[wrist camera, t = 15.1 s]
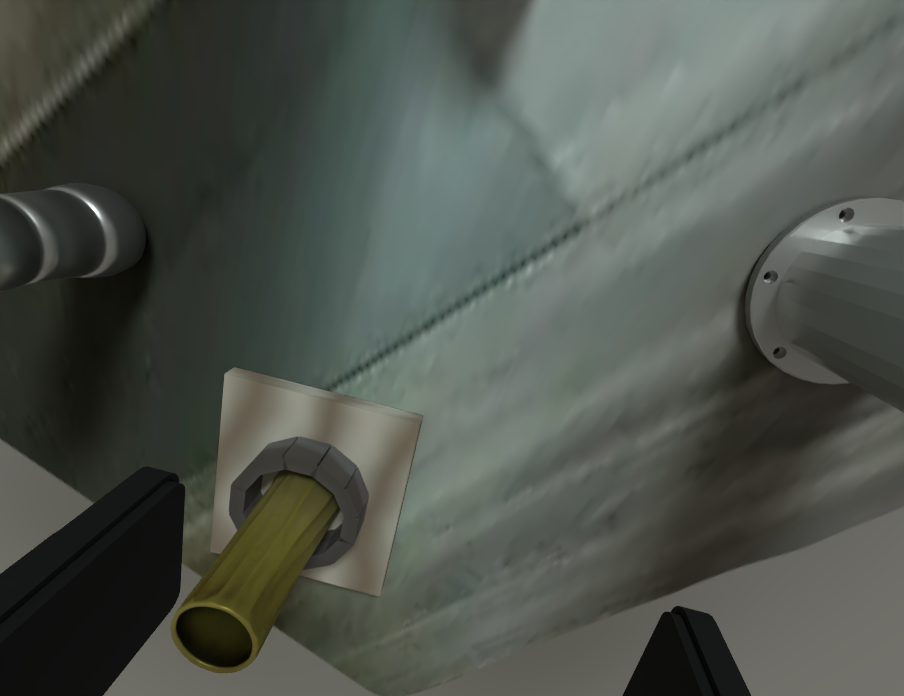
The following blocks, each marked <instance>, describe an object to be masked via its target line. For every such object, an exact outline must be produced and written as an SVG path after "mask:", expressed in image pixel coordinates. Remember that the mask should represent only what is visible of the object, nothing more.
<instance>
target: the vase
mask: <svg viewBox="0 0 904 696" xmlns="http://www.w3.org/2000/svg"><path fill="white" fill-rule="evenodd" d="M339 511H340V507H339V505H338V503H337V500H336V498H335V496H334V494H333V493H332V492H331V491H329V490H328V489H327V488H326V487H325V486H323V485H322V484H321V483H320V482H319V481H317V480H316V479H315V478H314V477H313V476H309V475H305V474H301V473H297V472H293V471H290V470H286V469H285V470H281V471H279V472H278V473H277V475H276V476H275V478H274V480H273V482H272V484H271V486H270V487H269V489H268V490H267V491H266V492H265V493H264V495H263V496H262V497H261V499H260V500H259V501H258V503H257V504H256V505H255V507H254V508H253V510H252V511H251V512H250V514H249V515H248V517H247V518H246V519H245V521H244V522H243V524H242V525H241V526H240V528H239V529H238V530H237V532H236V533H235V534H234V536H233V537H232V539H231V540H230V541H229V543H228V544H227V546H226V547H225V548H224V550H223V551H222V552H221V554H220V555H219V557H218V558H217V559H216V561H215V562H214V563H213V565H212V566H211V567H210V569H209V570H208V571H207V572H206V574H205V575H204V576H203V578H202V579H201V580H200V582H199V583H198V584H197V585H196V587H195V588H194V589H193V591H192V592H191V593H190V594H189V595H188V597H187V598H186V599H185V601H184V602H183V603H182V605H181V606H180V608H179V609H178V610H177V612H176V614H175V615H174V618H173V620H172V623H171V635H172V638H173V641H174V643H175V645H176V646H177V648H178V649H179V651H180V652H181V653H182V654H183V655H184V656H185V657H186V658H187V659H188V660H189V661H190V662H192V663H193V664H195V665H197V666H199V667H201V668H204V669H206V670H209V671H212V672H216V673H233V672H237V671H240V670H242V669H243V668H245V667H247V666H248V665H249V664H251V663H252V662H253V661H254V660H255V658H256V657H257V655H258V653H259V651H260V649H261V648H262V646H263V644H264V642H265V640H266V638H267V636H268V634H269V632H270V630H271V628H272V626H273V624H274V622H275V621H276V619H277V617H278V615H279V613H280V611H281V610H282V608H283V606H284V604H285V602H286V600H287V598H288V596H289V594H290V593H291V591H292V589H293V587H294V585H295V583H296V581H297V579H298V577H299V575H300V573H301V571H302V570H303V568H304V567H305V565H306V563H307V562H308V560H309V559H310V557H311V555H312V554H313V552H314V551H315V549H316V548H317V546H318V544H319V543H320V541H321V540H322V538H323V536H324V535H325V533H326V531H327V530H328V528H329V527H330V525H331V523H332V522H333V520H334V518H335V517H336V516H337V515H338V513H339Z"/></svg>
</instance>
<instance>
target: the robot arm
mask: <svg viewBox="0 0 904 696" xmlns="http://www.w3.org/2000/svg"><path fill="white" fill-rule="evenodd" d="M840 212H841V215H840V217H839V214H840ZM766 273H768V274H767V277H766V278H764V275H765V274H766ZM745 317H746V324H747V328H748V331H749V333H750V336H751V339H752V341H753V343H754V344H755V346H756V347H757V349H758V350H759V352H760V353H761V354H762V355H763V356H764V357H765V358H766V359H767V360H768V361H769V362H770V363H771V364H773V365H774V366H776V367H777V368H779V369H780V370H782V371H783V372H785V373H787V374H789V375H791V376H793V377H796V378H798V379H800V380H804V381H808V382H812V383H816V384H830V385H837V384H848V383H852V384H854V385H855V386H857V387H859V388H861V389H863V390H864V391H866V392H868V393H870V394H872V395H873V396H875V397H877V398H879V399H880V400H882V401H884V402H886V403H888V404H889V405H891V406H893V407H895V408H897V409H898V410H900V411H902V412H904V201H901V200H894V199H886V198H856V199H849V200H842V201H839V202H836V203H833V204H829V205H826V206H823V207H821V208H819V209H817V210H815V211H813V212H811V213H809V214H807V215H805V216H803V217H801V218H800V219H798V220H797V221H796V222H794V223H793V224H792V225H790V226H789V227H787V228H786V229H785V230H784V231H783V232H782V233H781V234H780V235H779V236H778V237H777V238H776V239H775V240H774V241H773V242H772V243H771V244H770V245H769V246H768V248H767V249H766V251H765V252H764V253H763V255H762V256H761V257H760V259H759V261H758V263H757V265H756V267H755V269H754V271H753V273H752V275H751V277H750V281H749V284H748V288H747V291H746V298H745ZM775 349H776V350H775ZM774 350H775V351H774ZM773 351H774V352H773ZM184 502H185V487H184V485H183V484H181V483H179V478H178V476H177V475H176V474H174V473H170V472H167V471H163V470H159V469H155V468H151V467H148V466H147V467H143V468H141V469H139V470H138V471H136V472H135V473H134V474H132V475H131V476H130V477H128V478H127V479H126V480H125V481H123V482H122V483H121V484H119V485H118V486H117V487H115V488H114V489H113V490H111V491H110V492H109V493H108V494H106V495H105V496H104V497H102V498H101V499H100V500H98V501H97V502H96V503H94V504H93V505H92V506H90V507H89V508H88V509H87V510H85V511H84V512H83V513H82V514H80V515H79V516H77V517H76V518H75V519H73V520H72V521H71V522H69V523H68V524H67V525H66V526H64V527H63V528H62V529H60V530H59V531H57V532H56V533H54V534H52V535H51V536H50V537H48V538H47V539H46V540H44V541H43V542H42V543H41V544H39V545H38V546H37V547H36V548H34V549H33V550H31V551H30V552H29V553H27V554H26V555H25V556H24V557H22V558H21V559H20V560H18V561H17V562H16V563H14V564H13V565H12V566H10V567H9V568H8V569H6V570H5V571H4V572H2V573H1V574H0V696H103V695H104V693H105V692H106V691H107V690H108V688H109V687H110V686H111V685H112V683H113V682H114V681H115V680H116V678H117V677H118V676H119V675H120V673H121V672H122V671H123V670H124V668H125V667H126V666H127V665H128V663H129V662H130V661H131V660H132V658H133V657H134V656H135V655H136V653H137V652H138V651H139V650H140V648H141V647H142V646H143V645H144V643H145V642H146V641H147V639H148V638H149V637H150V636H151V634H152V633H153V632H154V631H155V630H156V628H157V627H158V626H159V624H160V623H161V622H162V621H163V620H164V618H165V617H166V616H167V615H168V613H169V612H170V611H171V609H172V608H173V606H174V604H175V603H176V600H177V598H178V596H179V593H180V583H181V564H182V543H183V522H184ZM623 696H751V694H750V692H749V690H748V688H747V686H746V684H745V682H744V680H743V678H742V676H741V674H740V672H739V670H738V667H737V665H736V663H735V661H734V659H733V657H732V655H731V653H730V651H729V649H728V647H727V644H726V642H725V640H724V638H723V637H722V634H721V632H720V630H719V628H718V626H717V624H716V622H715V620H714V619H713V617H712V616H711V615H709V614H707V613H703V612H700V611H695V610H692V609H688V608H684V607H680V606H676V607H674V608H673V609H672V611H671V612H664V613H663V614H662V616H661V618H660V620H659V622H658V624H657V626H656V628H655V630H654V632H653V634H652V636H651V638H650V640H649V642H648V644H647V646H646V648H645V651H644V653H643V655H642V657H641V659H640V661H639V663H638V665H637V667H636V669H635V671H634V673H633V675H632V677H631V679H630V681H629V683H628V685H627V688H626V690H625V692H624V694H623Z"/></svg>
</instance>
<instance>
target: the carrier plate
mask: <svg viewBox="0 0 904 696" xmlns="http://www.w3.org/2000/svg"><path fill="white" fill-rule="evenodd" d="M422 419H423V416H422V415H419V414H415V413H411V412H407V411H403V410H399V409H395V408H391V407H387V406H383V405H380V404H376V403H372V402H368V401H364V400H360V399H356V398H352V397H348V396H345V395H341V394H337V393H333V392H329V391H325V390H321V389H317V388H313V387H309V386H306V385H302V384H298V383H294V382H290V381H286V380H282V379H278V378H274V377H271V376H267V375H263V374H259V373H255V372H251V371H247V370H243V369H239V368H236V367H234V368H233V369H231V370H230V371H228V372H227V373H225V375H224V388H223V400H222V413H221V425H220V438H219V450H218V463H217V475H216V488H215V500H214V512H213V525H212V537H211V550H210V552H213V553H217V554H221V552H222V551H223V550H224V548H225V547H226V546H227V544H228V543H229V541H230V540H231V539H232V537H233V536H234V534H235V533H236V532H237V530H238V529H239V528H240V526H241V525H242V524H243V522H244V521H245V519H246V518H247V517H248V515H249V514H250V512H251V511H252V510H253V508H254V507H255V505H256V504H257V503H258V501H259V500H260V499H261V497H262V496H263V495H264V493H265V492H266V491H267V490H268V489H269V487H270V486H271V484H272V482H273V480H274V478H275V476H276V475H277V473H278V472H279V471H281V470H285V469H286V470H290V471H293V472H297V473H301V474H305V475H309V476H313V477H314V478H315V479H316V480H317V481H319V482H320V483H321V484H322V485H323V486H325V487H326V488H327V489H328V490H329V491H331V492H332V493H333V494H334V496H335V498H336V500H337V503H338V505H339V507H340V511H339V513H338V515H337V516H336V517H335V518H334V520H333V522H332V523H331V525H330V527H329V528H328V530H327V531H326V533H325V535H324V536H323V538H322V540H321V541H320V543H319V544H318V546H317V548H316V549H315V551H314V552H313V554H312V555H311V557H310V559H309V560H308V562H307V563H306V565H305V567H304V568H303V570H302V571H301V573H300V575H299V576H303V577H307V578H311V579H314V580H318V581H322V582H326V583H329V584H333V585H337V586H341V587H344V588H348V589H352V590H356V591H359V592H363V593H367V594H371V595H374V596H378V597H380V595H381V591H382V588H383V585H384V581H385V576H386V572H387V568H388V564H389V559H390V555H391V551H392V547H393V542H394V538H395V534H396V530H397V525H398V521H399V517H400V512H401V508H402V504H403V500H404V495H405V491H406V487H407V483H408V478H409V474H410V470H411V466H412V461H413V457H414V453H415V449H416V444H417V440H418V436H419V432H420V427H421V423H422Z"/></svg>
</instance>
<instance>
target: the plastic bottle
mask: <svg viewBox="0 0 904 696" xmlns="http://www.w3.org/2000/svg"><path fill="white" fill-rule="evenodd" d="M145 245H146V230H145V226H144V223H143V221H142V219H141V217H140V215H139V214H138V212H137V211H136V209H135V208H134V207H133V206H132V205H131V204H130V203H129V202H128V201H127V200H126V199H125V198H123V197H122V196H121V195H119V194H118V193H116V192H114V191H113V190H110V189H107V188H105V187H100V186H95V185H90V184H85V183H71V184H65V185H59V186H55V187H51V188H48V189H44V190H38V191H28V192H19V193H10V194H0V292H1V291H4V290H8V289H12V288H16V287H20V286H23V285H27V284H31V283H35V282H38V281H47V280H55V279H64V278H73V277H81V278H94V277H109V276H113V275H116V274H118V273H120V272H122V271H124V270H126V269H128V268H130V267H132V266H134V265H135V264H136V263H137V262H138V261H139V260H140V258H141V257H142V255H143V252H144V249H145Z"/></svg>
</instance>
